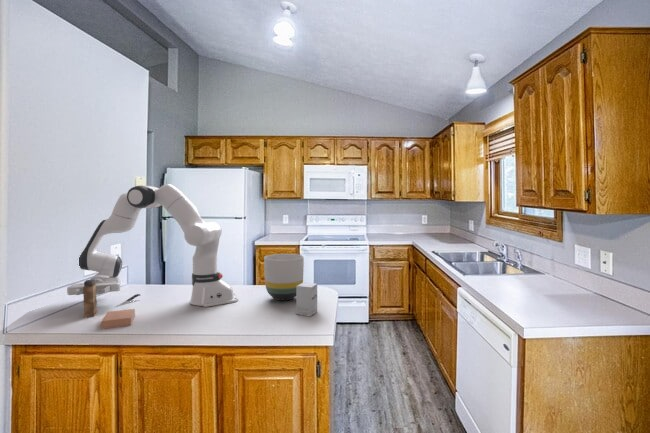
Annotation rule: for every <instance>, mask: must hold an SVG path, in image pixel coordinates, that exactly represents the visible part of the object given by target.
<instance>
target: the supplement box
mask: <svg viewBox="0 0 650 433" xmlns="http://www.w3.org/2000/svg"><path fill="white" fill-rule="evenodd" d="M295 301H296V302H295V304H296V306H295V307H296V308H295V315H298V314H302V315H301V316H306V315H310V316H309V317H312V316H313V315H314V314H315V313H317V311H318V283H316V282H315V283H314V282H313V283H312V282H303V283H301V284H299V285H298V286H296V297H295ZM312 314H313V315H312Z"/></svg>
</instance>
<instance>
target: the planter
mask: <svg viewBox="0 0 650 433" xmlns="http://www.w3.org/2000/svg"><path fill="white" fill-rule="evenodd" d="M263 258H264V260H263V261H264V262H263V266H264V267H263V268H264V271H263V272H264V284H265V289H266V292H267V293H268V294H269V296H271V298H273V299H275V300H277V301H283V302H284V301H290V300H293V299H295V298H296V286H298V285H299V284H301V283H304V272H305V271H304V270H305V269H304V267H305V266H304V264H305V262H304V255H301V254H298V253H275V254H268V255H265V256H264V257H263Z"/></svg>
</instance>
